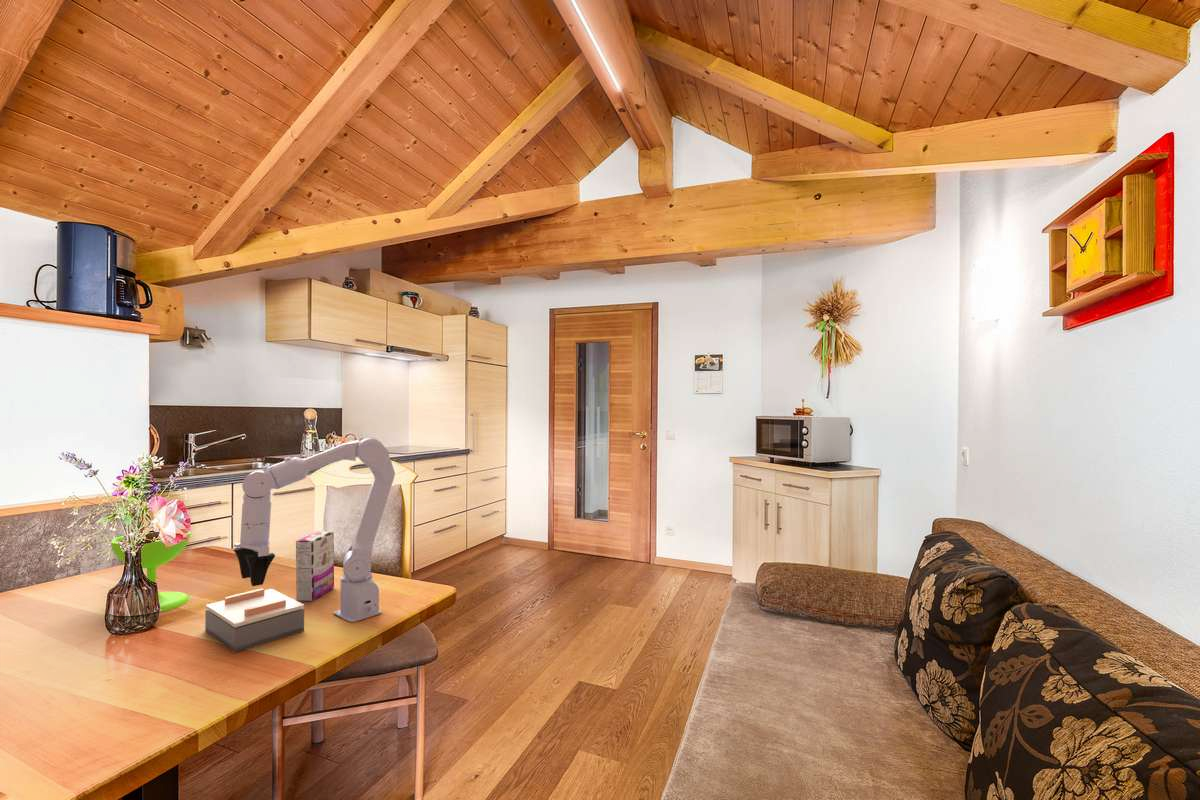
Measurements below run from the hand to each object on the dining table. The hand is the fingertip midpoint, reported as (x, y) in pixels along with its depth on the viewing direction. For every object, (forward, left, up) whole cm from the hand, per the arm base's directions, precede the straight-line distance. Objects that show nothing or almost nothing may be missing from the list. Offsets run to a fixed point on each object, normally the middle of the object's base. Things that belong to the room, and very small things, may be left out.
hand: (252, 581), depth 126 cm
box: (-2, 0, -11) cm, 11 cm away
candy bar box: (+12, -20, -12) cm, 26 cm away
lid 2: (-6, 0, -6) cm, 8 cm away
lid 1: (+3, 0, -6) cm, 7 cm away
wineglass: (+38, +10, -12) cm, 41 cm away
